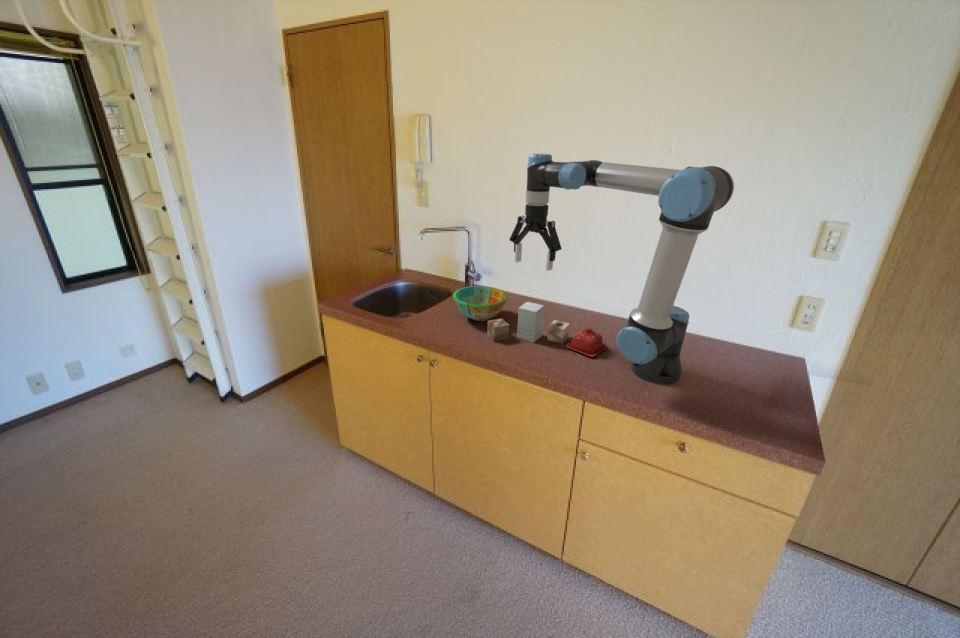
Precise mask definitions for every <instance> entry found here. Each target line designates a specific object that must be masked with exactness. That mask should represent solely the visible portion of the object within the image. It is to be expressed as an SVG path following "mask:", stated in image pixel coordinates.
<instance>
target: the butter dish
mask: <svg viewBox="0 0 960 638" xmlns="http://www.w3.org/2000/svg"><path fill="white" fill-rule="evenodd" d="M565 347H566V348H568V349H571V350H573V351H575V352H578V353H581V354H583V355H585V356H588V357H592V358H593V357H595V356H596V355H598V354H600V353H601V352H602V351H603V350H605V349H606V348H607V347H608V346H607V344H605V343H603V335H601V334H600V333H599V332H597V331H594V330H593V328H592V327H590V326H589V327H585V328H584V329H581V330H579V331H578V332H577V333H575V334H574V335H573V339H572V341H570V342H569V343H567V344H566V346H565Z"/></svg>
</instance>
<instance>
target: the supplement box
mask: <svg viewBox="0 0 960 638" xmlns="http://www.w3.org/2000/svg"><path fill="white" fill-rule="evenodd" d="M517 311H518V316H517V317H518V318H517V332H516V333H517V336H516V338H517V339H520V340H523V341H526V342H530V343H533V344H534V343H535V342H536V341H537V340H539V339H540V338H541V337H542V336H543V327H544V326H543V325H544V314H545V305H543V304H539V303H534V302H530V301H525V303H523V304H522V305H521V306H519V307H518V310H517Z"/></svg>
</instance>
